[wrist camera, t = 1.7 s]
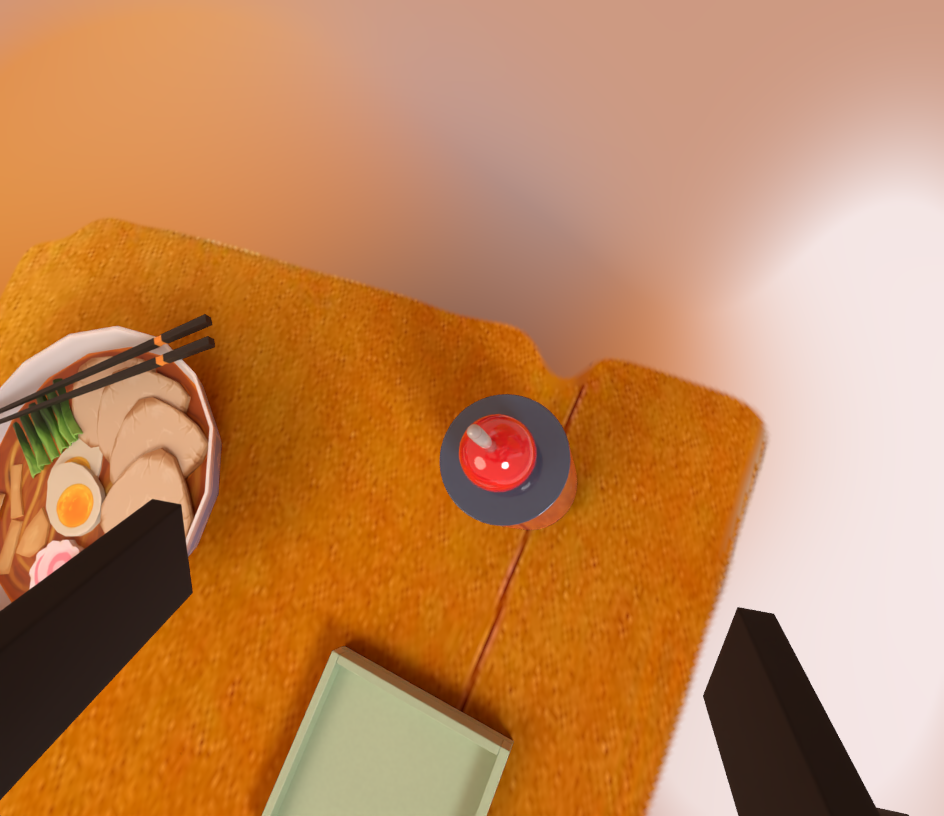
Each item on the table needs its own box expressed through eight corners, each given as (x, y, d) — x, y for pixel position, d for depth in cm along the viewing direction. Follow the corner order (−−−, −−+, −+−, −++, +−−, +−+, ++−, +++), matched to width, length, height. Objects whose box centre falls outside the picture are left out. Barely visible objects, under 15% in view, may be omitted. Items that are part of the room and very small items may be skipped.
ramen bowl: (34, 664, 42) (-91, 692, 35) (33, 406, 49) (-72, 380, 41) (309, 585, 39) (238, 596, 31) (267, 318, 46) (200, 273, 38)
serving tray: (514, 740, 33) (509, 751, 32) (433, 960, 31) (424, 984, 30) (344, 645, 37) (332, 650, 35) (263, 835, 35) (246, 850, 34)
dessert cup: (597, 492, 36) (600, 449, 19) (517, 549, 36) (447, 557, 19) (539, 415, 38) (494, 314, 21) (464, 470, 38) (359, 413, 21)
